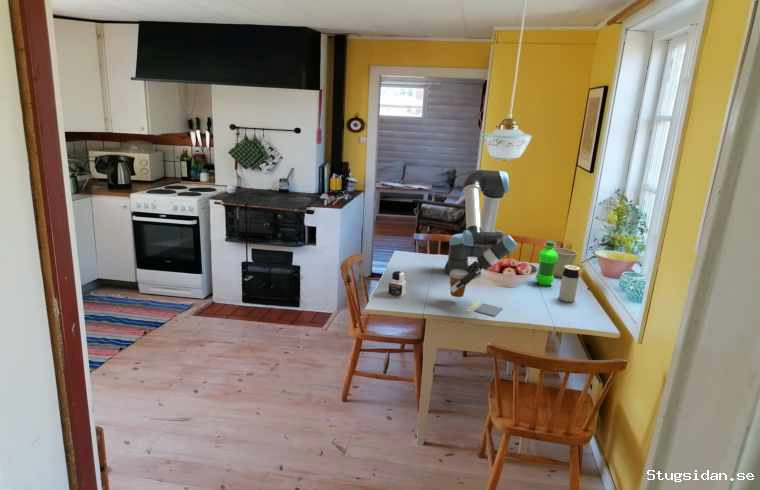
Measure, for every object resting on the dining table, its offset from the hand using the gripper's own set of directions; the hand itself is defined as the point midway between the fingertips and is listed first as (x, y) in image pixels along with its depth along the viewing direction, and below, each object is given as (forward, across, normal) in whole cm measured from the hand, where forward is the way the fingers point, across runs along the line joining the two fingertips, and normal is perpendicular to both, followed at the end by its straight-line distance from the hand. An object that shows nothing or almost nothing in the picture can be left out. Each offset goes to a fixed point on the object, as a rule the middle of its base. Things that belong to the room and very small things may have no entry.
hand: (451, 287), depth 240 cm
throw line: (-3, -5, -13) cm, 14 cm away
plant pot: (-42, +63, -55) cm, 94 cm away
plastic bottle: (-33, +43, -45) cm, 71 cm away
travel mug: (-38, +20, -50) cm, 66 cm away
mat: (-8, -7, -18) cm, 21 cm away
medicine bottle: (+24, +2, +13) cm, 28 cm away
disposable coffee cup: (0, 0, -5) cm, 5 cm away
